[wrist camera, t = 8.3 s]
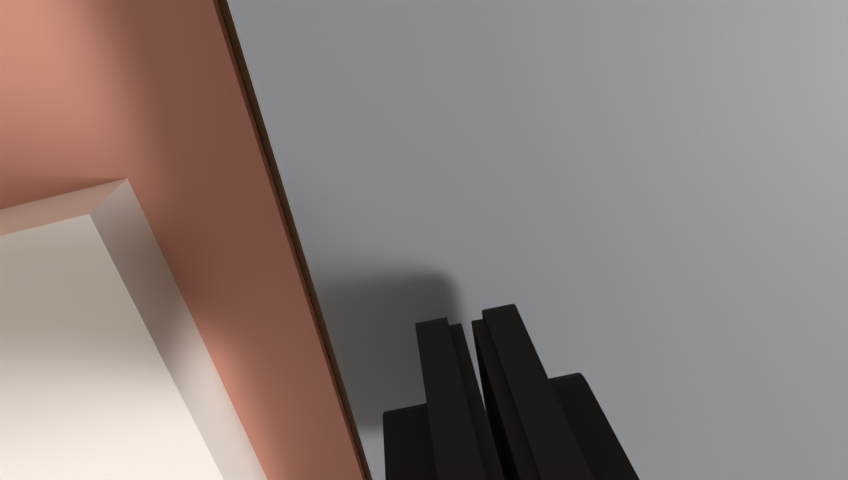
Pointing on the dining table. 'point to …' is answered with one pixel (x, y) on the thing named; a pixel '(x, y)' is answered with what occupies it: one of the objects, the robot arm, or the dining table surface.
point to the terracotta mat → (179, 196)
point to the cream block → (105, 352)
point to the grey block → (581, 206)
